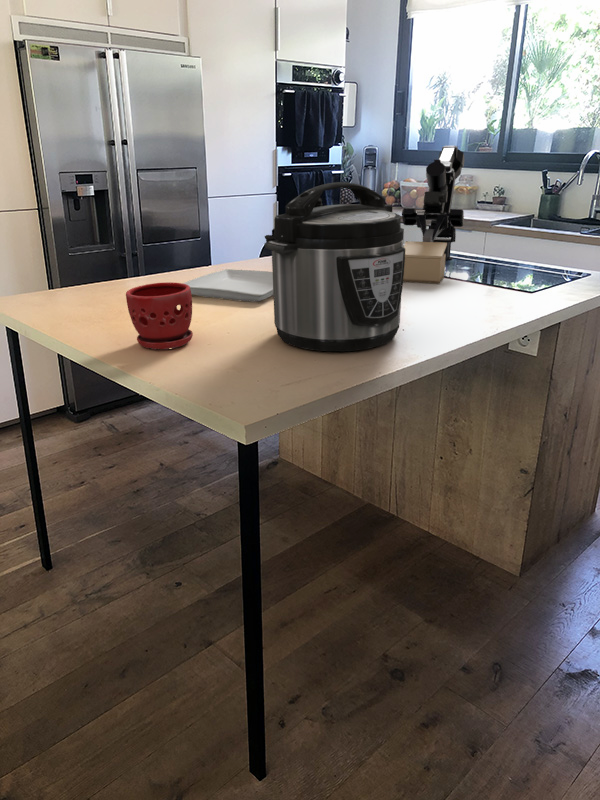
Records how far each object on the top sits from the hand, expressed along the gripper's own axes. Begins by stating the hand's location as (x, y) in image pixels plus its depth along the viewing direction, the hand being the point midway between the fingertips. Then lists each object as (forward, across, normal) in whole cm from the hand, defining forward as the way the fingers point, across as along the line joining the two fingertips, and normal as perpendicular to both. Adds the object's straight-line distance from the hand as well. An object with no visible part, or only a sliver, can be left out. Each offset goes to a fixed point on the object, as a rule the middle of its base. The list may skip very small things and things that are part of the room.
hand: (428, 239), depth 197 cm
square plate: (+35, -46, -20) cm, 61 cm away
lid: (+5, 0, -2) cm, 6 cm away
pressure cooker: (+60, -6, -46) cm, 76 cm away
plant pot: (+71, -40, -58) cm, 100 cm away
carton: (+14, 0, +1) cm, 14 cm away
